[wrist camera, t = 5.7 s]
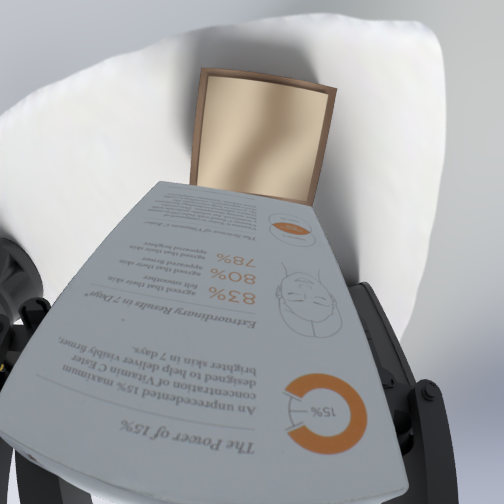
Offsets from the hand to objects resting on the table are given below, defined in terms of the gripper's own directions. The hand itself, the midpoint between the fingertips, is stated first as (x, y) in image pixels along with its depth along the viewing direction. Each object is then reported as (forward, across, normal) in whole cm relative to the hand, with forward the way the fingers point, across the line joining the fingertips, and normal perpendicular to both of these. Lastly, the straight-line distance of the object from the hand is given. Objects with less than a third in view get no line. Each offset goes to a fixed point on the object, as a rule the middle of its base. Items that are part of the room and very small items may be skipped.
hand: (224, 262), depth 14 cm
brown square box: (+20, +1, +4) cm, 21 cm away
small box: (+2, 0, 0) cm, 2 cm away
